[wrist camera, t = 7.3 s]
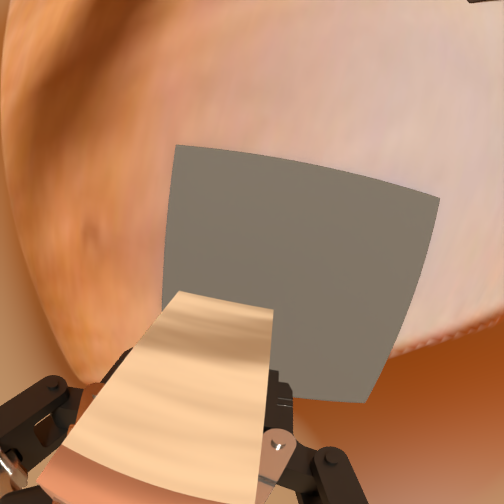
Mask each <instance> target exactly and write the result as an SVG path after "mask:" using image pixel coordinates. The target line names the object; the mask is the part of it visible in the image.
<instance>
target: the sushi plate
mask: <svg viewBox="0 0 504 504" xmlns="http://www.w3.org/2000/svg"><path fill="white" fill-rule="evenodd" d="M467 1H468V2H469V3H474V2H479V1H485V0H467Z"/></svg>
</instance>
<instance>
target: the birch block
mask: <svg viewBox="0 0 504 504" xmlns="http://www.w3.org/2000/svg"><path fill="white" fill-rule="evenodd" d="M272 324H273V309H267V308H262V307H256V306H251V305H246V304H240V303H235V302H230V301H225V300H220V299H215V298H210V297H206V296H201V295H196V294H192V293H187V292H182V291H178V293H177V294H176V295H175V296H174V298H173V299H172V300H171V301H170V302H169V304H168V305H167V306H166V307H165V309H164V310H163V311H162V312H161V314H160V315H159V316H158V317H157V319H156V320H155V321H154V322H153V324H152V325H151V326H150V327H149V329H148V330H147V331H146V332H145V334H144V335H143V336H142V338H141V339H140V340H139V341H138V343H137V344H136V345H135V346H134V348H133V349H132V350H131V352H130V353H129V354H128V355H127V357H126V358H125V359H124V361H123V362H122V363H121V364H120V366H119V367H118V368H117V370H116V371H115V372H114V374H113V375H112V376H111V378H110V379H109V380H108V381H107V383H106V384H105V385H104V387H103V388H102V389H101V391H100V392H99V393H98V395H97V396H96V397H95V399H94V400H93V401H92V403H91V404H90V405H89V407H88V408H87V410H86V411H85V412H84V414H83V415H82V416H81V418H80V419H79V420H78V422H77V423H76V425H75V426H74V427H73V429H72V430H71V431H70V433H69V434H68V436H67V437H66V438H65V440H64V441H63V443H62V444H61V446H60V447H59V448H58V450H57V451H56V453H55V454H54V456H53V457H52V458H51V460H50V461H49V463H48V464H47V466H46V467H45V469H44V470H43V471H42V473H41V474H40V476H39V477H38V479H37V480H36V482H37V483H38V484H39V485H40V486H41V488H42V489H43V490H44V491H45V492H46V493H47V494H48V495H49V496H50V497H51V498H52V499H53V497H56V498H57V499H59V500H61V501H62V502H64V503H66V504H255V499H256V490H257V482H258V473H259V465H260V456H261V446H262V437H263V427H264V417H265V406H266V396H267V385H268V374H269V362H270V350H271V337H272Z"/></svg>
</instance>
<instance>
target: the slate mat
mask: <svg viewBox="0 0 504 504" xmlns="http://www.w3.org/2000/svg"><path fill="white" fill-rule="evenodd" d="M439 201H440V198H438V197H435V196H432V195H429V194H426V193H422V192H419V191H416V190H413V189H409V188H406V187H402V186H399V185H395V184H392V183H388V182H385V181H381V180H377V179H373V178H370V177H366V176H362V175H358V174H353V173H349V172H345V171H341V170H336V169H332V168H327V167H323V166H318V165H313V164H308V163H303V162H298V161H293V160H287V159H281V158H276V157H270V156H264V155H257V154H251V153H244V152H237V151H229V150H222V149H213V148H204V147H195V146H185V145H176V148H175V155H174V162H173V170H172V178H171V186H170V195H169V204H168V214H167V225H166V237H165V251H164V267H163V288H162V311H163V310H164V309H165V307H166V306H167V305H168V304H169V302H170V301H171V300H172V299H173V298H174V296H175V295H176V294H177V293H178V291H182V292H187V293H192V294H196V295H201V296H206V297H210V298H215V299H220V300H225V301H230V302H235V303H240V304H246V305H251V306H256V307H262V308H267V309H273V324H272V337H271V350H270V362H269V369H271V370H277V371H279V382H285V383H288V384H289V385H290V387H291V389H292V391H293V397H296V398H305V399H315V400H325V401H338V402H355V403H365V402H366V400H367V398H368V396H369V395H370V393H371V391H372V389H373V387H374V385H375V383H376V381H377V379H378V377H379V375H380V373H381V371H382V369H383V367H384V365H385V363H386V361H387V359H388V356H389V354H390V352H391V350H392V348H393V345H394V343H395V341H396V338H397V336H398V334H399V331H400V329H401V326H402V324H403V321H404V319H405V316H406V314H407V311H408V309H409V306H410V303H411V300H412V298H413V295H414V292H415V289H416V286H417V283H418V280H419V277H420V274H421V271H422V268H423V264H424V261H425V258H426V254H427V251H428V247H429V243H430V240H431V236H432V232H433V228H434V224H435V220H436V215H437V211H438V206H439Z"/></svg>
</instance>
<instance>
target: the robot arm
mask: <svg viewBox="0 0 504 504" xmlns="http://www.w3.org/2000/svg"><path fill="white" fill-rule="evenodd" d="M132 349H133V347H132V348H131V349H129V350H127V351H125V352H124V353H123V354H122V355H121V357H120V358H119V360H117V362H116V363H115V365H113V367H112V368H111V369H110V370H109V372H108V373H107V374H106V375H105V377H104V378H103V379H102V381H101V382H100V383H92V384H89V385H88V386H86V387H85V388H84V389H79V388H73V387H68V386H67V383H66V381H65V380H64V379H63V378H62V377H60V376H56V375H51V376H47V377H45V378H43V379H42V380H40V381H38V382H37V383H35V384H34V385H32V386H31V387H29V388H28V389H26V390H25V391H23V392H21V393H20V394H18V395H17V396H15V397H14V398H12V399H11V400H9V401H7V402H6V403H4V404H3V405H1V406H0V504H66V503H64V502H62V501H61V500H59V499H57V498H56V497H53V499H52V498H51V497H50V496H49V495H48V494H47V493H46V492H45V491H44V490H43V489H42V488H41V486H40V485H37V486H34V487H30V488H26V489H22V487H25V486H27V479H28V472H29V471H30V470H31V469H32V468H34V467H35V466H36V465H37V464H38V463H39V462H41V461H42V460H43V459H45V458H46V457H47V456H48V455H50V454H51V453H52V452H53V451H54V450H56V449H57V448H58V447H59V446H60V445H61V444H62V443H63V441H64V440H65V438H66V437H67V436H68V434H69V433H70V431H71V430H72V429H73V427H74V426H75V425H76V423H77V422H78V420H79V419H80V418H81V416H82V415H83V414H84V412H85V411H86V410H87V408H88V407H89V405H90V404H91V403H92V401H93V400H94V399H95V397H96V396H97V395H98V393H99V392H100V391H101V389H102V388H103V387H104V385H105V384H106V383H107V381H108V380H109V379H110V378H111V376H112V375H113V374H114V372H115V371H116V370H117V368H118V367H119V366H120V364H121V363H122V362H123V361H124V359H125V358H126V357H127V355H128V354H129V353H130V352H131V350H132ZM292 400H293V391H292V389H291V387H290V385H289V384H288V383H285V382H279V371H277V370H271V369H269V374H268V385H267V396H266V406H265V417H264V427H263V437H262V446H261V456H260V465H259V473H258V482H257V490H256V499H255V504H264V503H265V502H266V500H267V499H268V497H269V495H270V494H271V492H272V490H273V488H274V487H275V485H276V484H277V485H280V486H283V487H285V488H288V489H291V490H294V491H295V492H296V496H297V499H298V503H299V504H368V501H367V499H366V497H365V495H364V493H363V490H362V488H361V486H360V483H359V481H358V479H357V477H356V475H355V473H354V470H353V468H352V466H351V464H350V462H349V459H348V457H347V455H346V454H345V453H344V452H343V451H342V450H340V449H338V448H336V447H323V448H321V449H319V450H318V451H317V450H314V449H311V448H308V447H305V446H303V445H302V444H300V443H299V442H298V441H297V440H296V439H295V437H294V435H293V408H292V407H293V401H292ZM48 414H50V415H49V416H48V417H46V418H45V419H44V420H42V421H41V422H40V423H38V424H37V425H36V426H35V424H36V423H37V422H39V421H40V420H41V419H43V418H44V417H45V416H47V415H48Z"/></svg>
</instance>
